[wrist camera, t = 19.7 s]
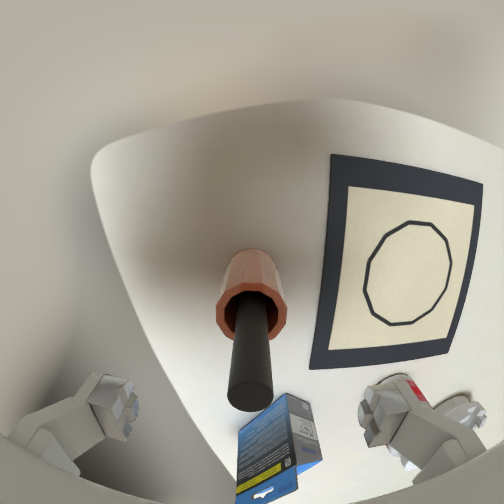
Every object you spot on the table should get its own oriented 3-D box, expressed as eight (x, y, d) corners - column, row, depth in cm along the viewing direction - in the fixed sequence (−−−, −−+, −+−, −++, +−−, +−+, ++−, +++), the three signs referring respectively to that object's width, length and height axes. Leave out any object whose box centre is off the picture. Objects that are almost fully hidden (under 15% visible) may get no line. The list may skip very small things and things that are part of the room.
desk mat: (330, 154, 21) (332, 153, 20) (480, 183, 21) (484, 184, 20) (308, 367, 26) (309, 370, 25) (446, 351, 26) (448, 353, 25)
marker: (242, 265, 22) (226, 380, 9) (263, 266, 22) (275, 381, 9) (241, 284, 23) (227, 411, 9) (262, 285, 23) (271, 412, 9)
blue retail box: (262, 441, 29) (264, 522, 17) (237, 430, 28) (231, 516, 16) (311, 403, 27) (331, 494, 15) (285, 390, 26) (297, 488, 14)
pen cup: (228, 247, 23) (215, 281, 15) (277, 249, 23) (289, 283, 15) (227, 293, 24) (216, 343, 16) (274, 294, 24) (283, 345, 16)
